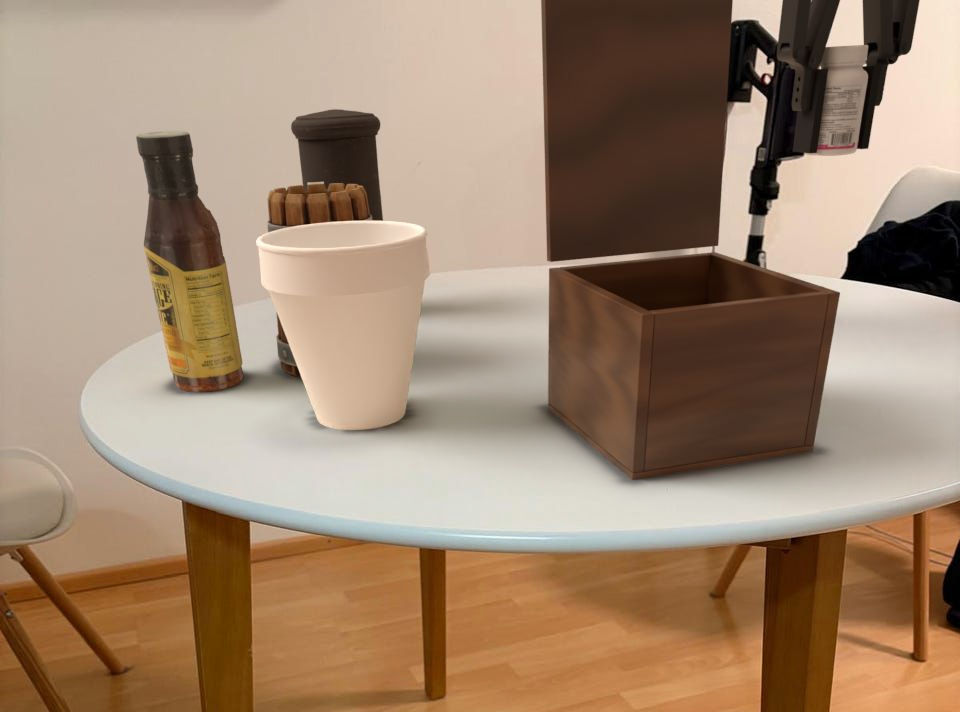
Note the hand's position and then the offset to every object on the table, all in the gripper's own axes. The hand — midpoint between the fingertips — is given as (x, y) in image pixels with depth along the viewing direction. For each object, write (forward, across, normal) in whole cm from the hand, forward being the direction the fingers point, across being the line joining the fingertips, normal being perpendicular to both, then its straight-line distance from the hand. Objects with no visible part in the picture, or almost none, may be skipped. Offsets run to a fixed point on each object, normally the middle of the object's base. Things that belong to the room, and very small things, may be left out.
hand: (830, 149), depth 85 cm
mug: (+15, +47, -6) cm, 50 cm away
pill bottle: (+1, 0, 0) cm, 1 cm away
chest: (+16, +27, +24) cm, 39 cm away
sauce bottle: (+15, +59, -2) cm, 61 cm away
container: (+15, +42, -24) cm, 51 cm away
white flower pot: (+16, +48, +12) cm, 52 cm away
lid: (-4, +27, +16) cm, 32 cm away
